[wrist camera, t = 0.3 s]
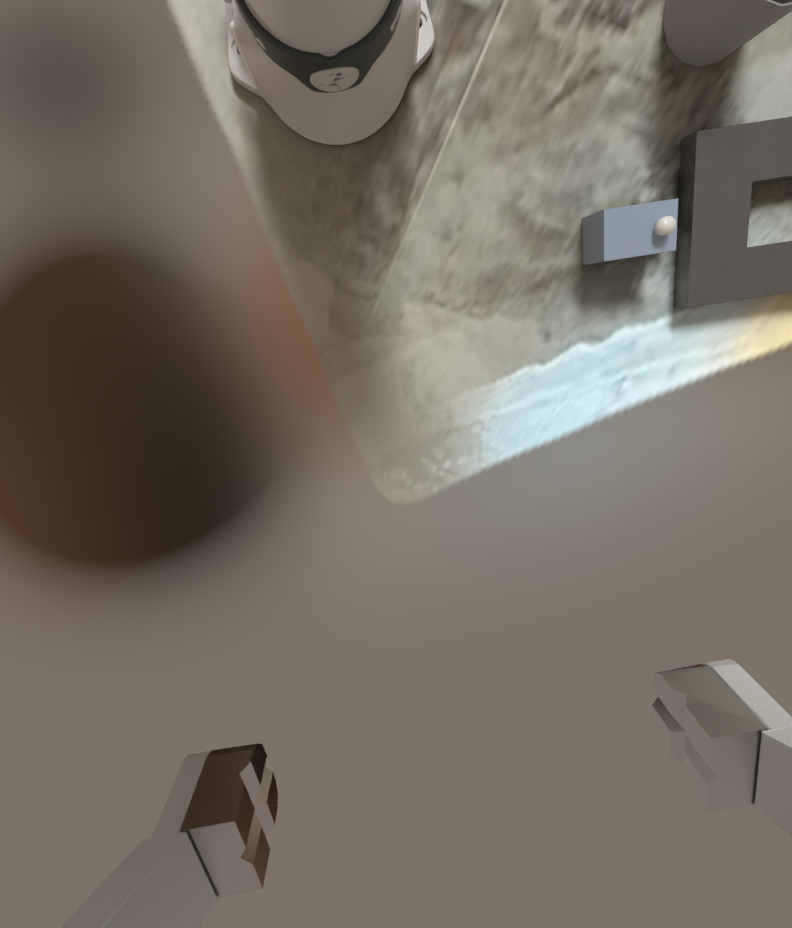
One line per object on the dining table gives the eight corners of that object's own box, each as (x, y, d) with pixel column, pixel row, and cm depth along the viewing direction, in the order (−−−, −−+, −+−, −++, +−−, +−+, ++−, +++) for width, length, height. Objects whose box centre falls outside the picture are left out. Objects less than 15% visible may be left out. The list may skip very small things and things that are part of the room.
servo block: (582, 218, 50) (608, 207, 44) (663, 206, 50) (701, 193, 44) (583, 265, 51) (608, 260, 45) (662, 253, 51) (698, 246, 45)
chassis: (681, 139, 48) (697, 131, 45) (881, 109, 48) (907, 99, 45) (673, 307, 53) (687, 307, 50) (854, 280, 53) (876, 278, 50)
